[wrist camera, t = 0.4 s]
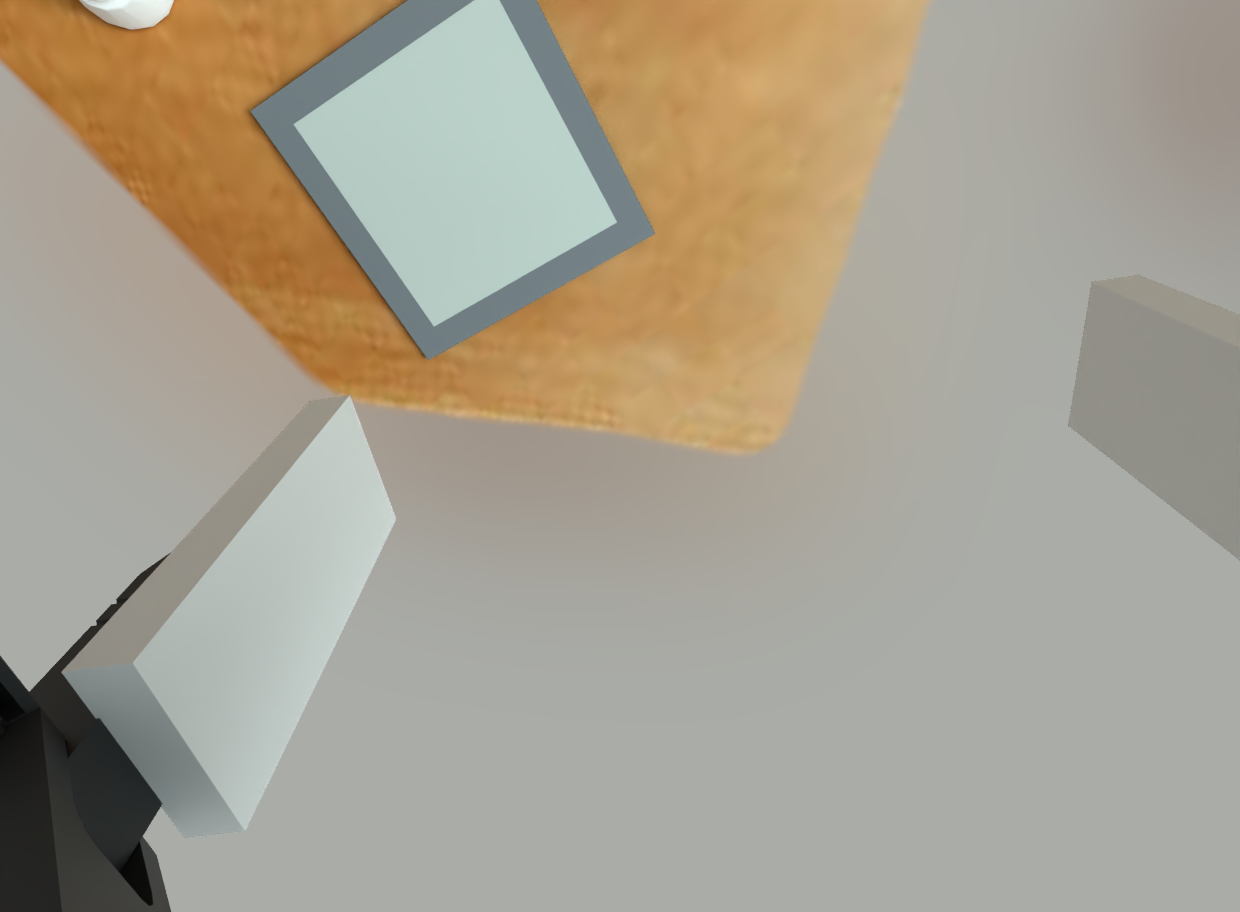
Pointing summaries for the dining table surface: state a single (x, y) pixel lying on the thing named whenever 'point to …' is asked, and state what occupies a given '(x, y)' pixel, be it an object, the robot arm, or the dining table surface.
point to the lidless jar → (130, 11)
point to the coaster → (457, 163)
